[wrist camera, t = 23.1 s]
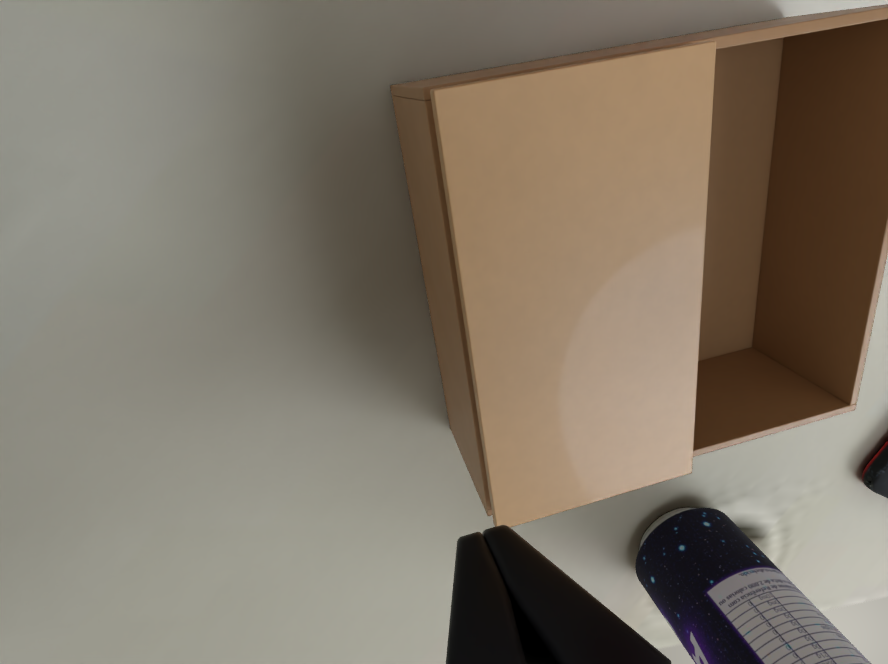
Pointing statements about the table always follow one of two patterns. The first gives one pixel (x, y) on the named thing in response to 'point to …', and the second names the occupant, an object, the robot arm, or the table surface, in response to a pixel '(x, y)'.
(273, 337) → the table surface
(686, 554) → the beverage can
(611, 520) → the table surface
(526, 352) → the flap
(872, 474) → the handheld console
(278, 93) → the table surface
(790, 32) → the carton
